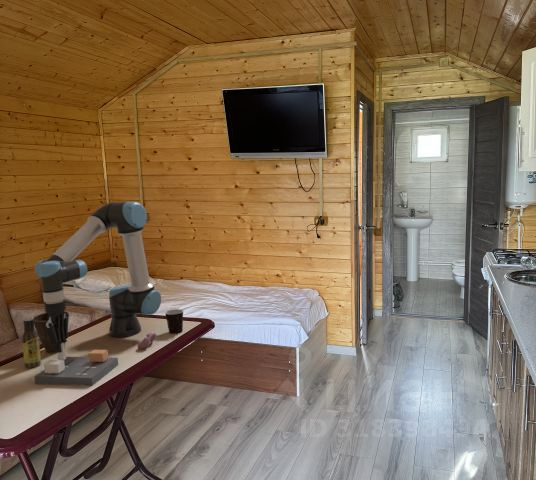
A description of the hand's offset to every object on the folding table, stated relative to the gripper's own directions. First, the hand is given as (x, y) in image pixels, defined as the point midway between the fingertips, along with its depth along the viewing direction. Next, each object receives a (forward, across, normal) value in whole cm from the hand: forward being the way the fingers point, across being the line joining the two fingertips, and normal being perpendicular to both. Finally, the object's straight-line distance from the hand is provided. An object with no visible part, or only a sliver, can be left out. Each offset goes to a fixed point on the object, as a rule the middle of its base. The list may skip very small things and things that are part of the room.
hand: (62, 359), depth 200 cm
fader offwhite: (+3, +5, 0) cm, 6 cm away
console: (+6, -1, +6) cm, 9 cm away
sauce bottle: (+7, -8, -19) cm, 22 cm away
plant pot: (+7, -26, -21) cm, 34 cm away
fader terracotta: (+3, -7, +12) cm, 14 cm away
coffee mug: (+7, -50, +27) cm, 58 cm away
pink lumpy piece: (+7, -32, +21) cm, 39 cm away
